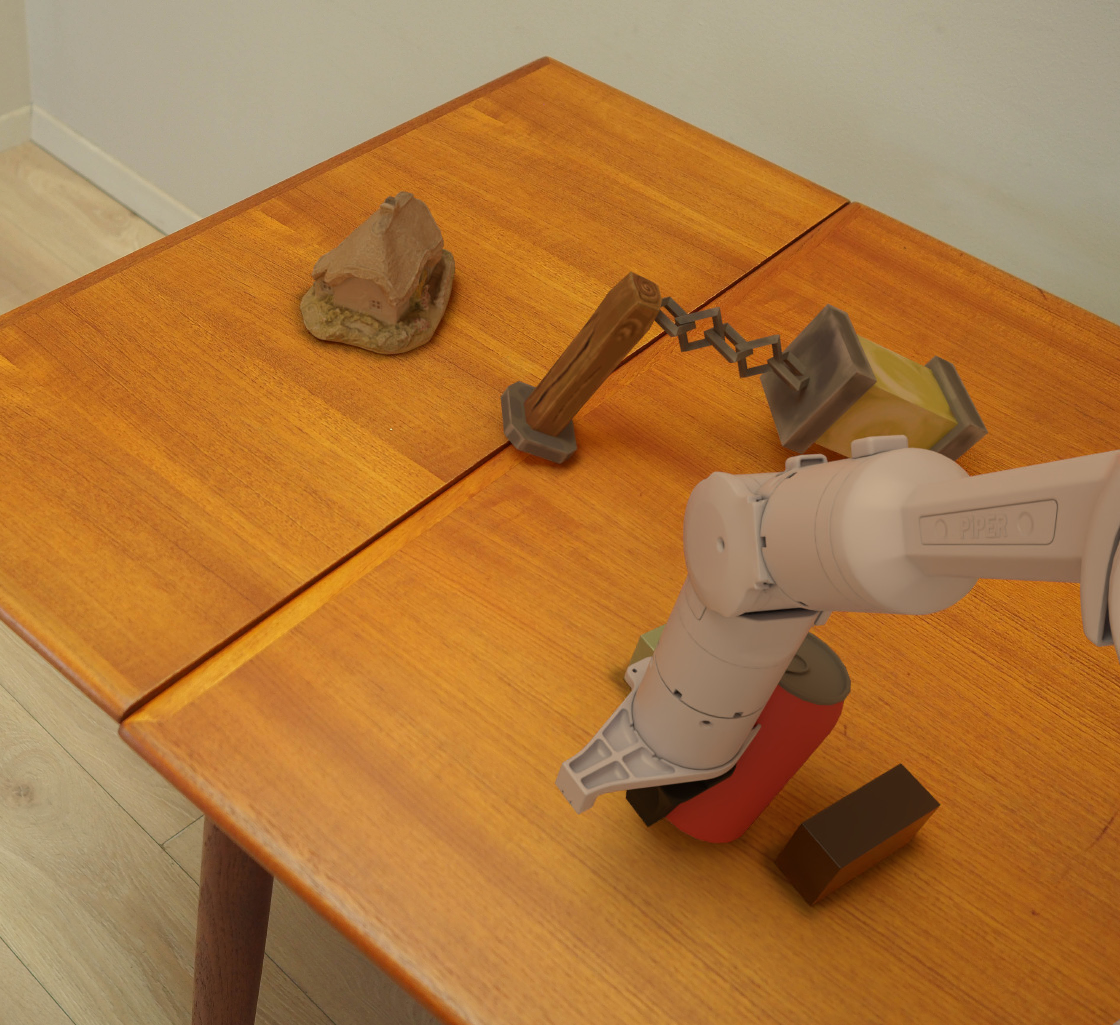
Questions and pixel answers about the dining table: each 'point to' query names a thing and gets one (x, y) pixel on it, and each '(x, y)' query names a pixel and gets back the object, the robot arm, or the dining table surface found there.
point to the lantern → (788, 379)
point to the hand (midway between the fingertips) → (641, 809)
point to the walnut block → (855, 833)
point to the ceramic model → (383, 281)
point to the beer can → (772, 746)
